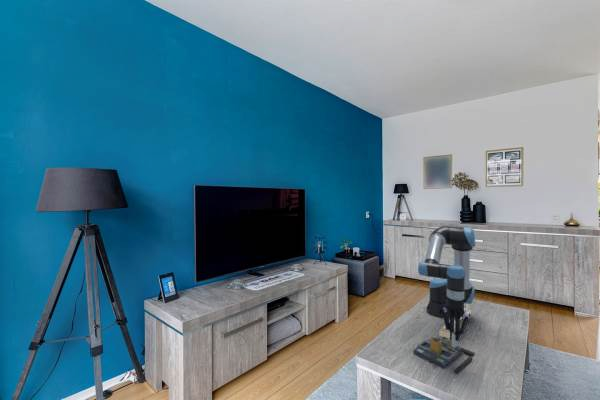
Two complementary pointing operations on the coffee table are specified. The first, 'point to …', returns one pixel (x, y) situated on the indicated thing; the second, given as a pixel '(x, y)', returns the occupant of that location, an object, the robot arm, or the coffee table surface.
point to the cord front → (463, 350)
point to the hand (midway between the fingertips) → (454, 345)
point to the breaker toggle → (436, 345)
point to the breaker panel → (444, 357)
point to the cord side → (462, 364)
